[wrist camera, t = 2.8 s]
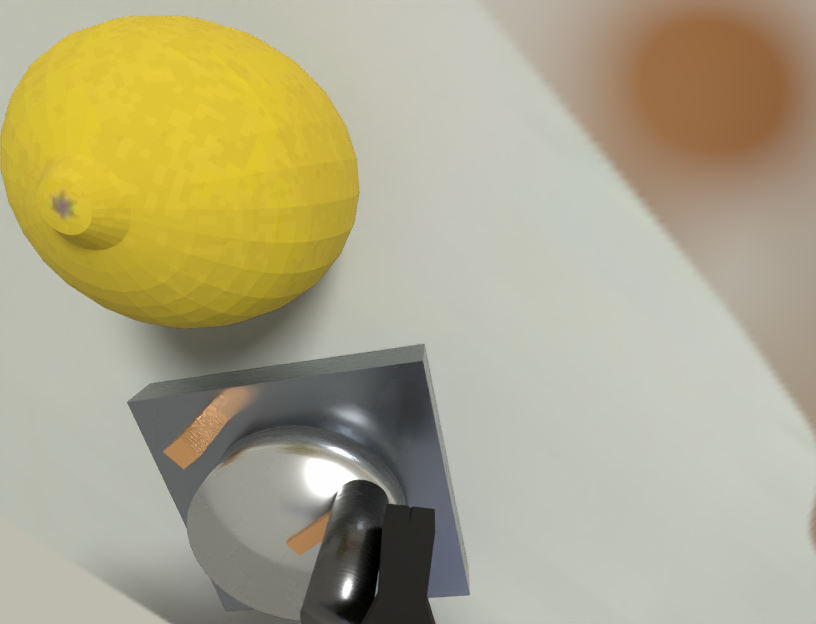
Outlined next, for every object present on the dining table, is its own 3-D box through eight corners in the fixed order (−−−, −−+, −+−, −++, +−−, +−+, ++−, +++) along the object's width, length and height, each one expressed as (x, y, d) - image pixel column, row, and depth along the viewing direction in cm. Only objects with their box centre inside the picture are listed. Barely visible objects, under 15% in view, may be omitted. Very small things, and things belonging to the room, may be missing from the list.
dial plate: (468, 566, 17) (473, 646, 15) (238, 583, 19) (203, 659, 16) (424, 344, 14) (420, 391, 11) (149, 383, 15) (85, 435, 13)
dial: (424, 573, 16) (416, 750, 11) (246, 587, 17) (172, 755, 12) (383, 412, 14) (352, 550, 9) (180, 438, 14) (56, 576, 10)
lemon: (369, 278, 13) (279, 437, 6) (196, 250, 14) (-103, 372, 6) (393, 81, 12) (302, -45, 4) (190, 50, 12) (-264, -131, 4)
